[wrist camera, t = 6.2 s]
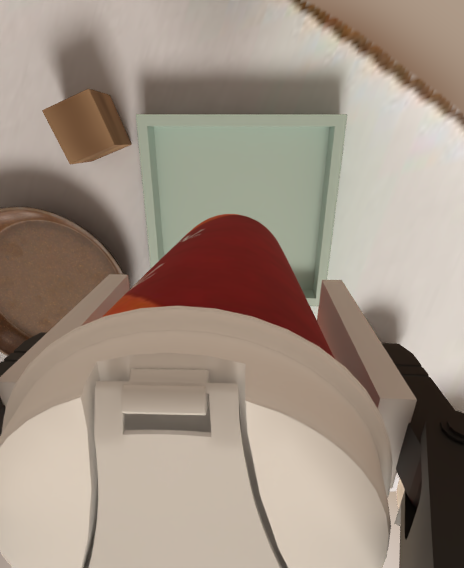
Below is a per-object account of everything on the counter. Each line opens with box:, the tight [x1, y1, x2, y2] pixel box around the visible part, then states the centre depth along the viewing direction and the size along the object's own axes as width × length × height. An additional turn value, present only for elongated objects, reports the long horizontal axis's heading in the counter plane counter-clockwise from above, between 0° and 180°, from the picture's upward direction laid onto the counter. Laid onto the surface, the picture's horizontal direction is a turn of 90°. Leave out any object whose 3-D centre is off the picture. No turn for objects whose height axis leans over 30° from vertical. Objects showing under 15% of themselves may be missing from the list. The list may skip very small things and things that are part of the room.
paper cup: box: [0, 214, 393, 568], centre depth 12 cm, size 8×8×14 cm
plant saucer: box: [0, 207, 123, 356], centre depth 34 cm, size 18×18×3 cm
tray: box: [136, 114, 347, 306], centre depth 30 cm, size 16×16×2 cm
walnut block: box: [42, 89, 131, 164], centre depth 27 cm, size 4×4×4 cm
